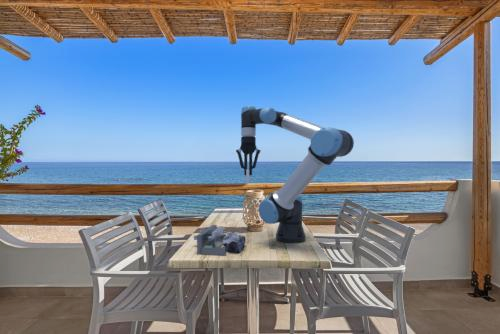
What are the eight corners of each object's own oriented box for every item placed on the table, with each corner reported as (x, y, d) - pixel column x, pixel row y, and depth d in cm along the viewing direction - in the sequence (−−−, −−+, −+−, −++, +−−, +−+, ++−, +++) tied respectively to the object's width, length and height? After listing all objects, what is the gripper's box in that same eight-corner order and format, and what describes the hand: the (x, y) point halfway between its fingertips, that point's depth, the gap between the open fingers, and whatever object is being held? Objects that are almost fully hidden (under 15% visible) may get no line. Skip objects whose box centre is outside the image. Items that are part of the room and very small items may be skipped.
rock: (242, 250, 123) (245, 227, 128) (219, 248, 124) (222, 225, 129) (243, 257, 136) (246, 235, 141) (222, 254, 137) (225, 233, 141)
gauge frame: (236, 241, 145) (237, 225, 145) (225, 255, 123) (225, 236, 123) (212, 240, 147) (212, 224, 147) (197, 254, 125) (197, 235, 125)
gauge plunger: (225, 241, 145) (225, 224, 145) (212, 253, 125) (212, 234, 125) (202, 239, 147) (202, 223, 147) (185, 252, 127) (185, 233, 127)
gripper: (261, 137, 155) (261, 181, 155) (237, 137, 157) (237, 181, 157) (259, 135, 147) (259, 182, 147) (234, 135, 149) (234, 182, 150)
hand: (248, 181), depth 152 cm, fingers closed
